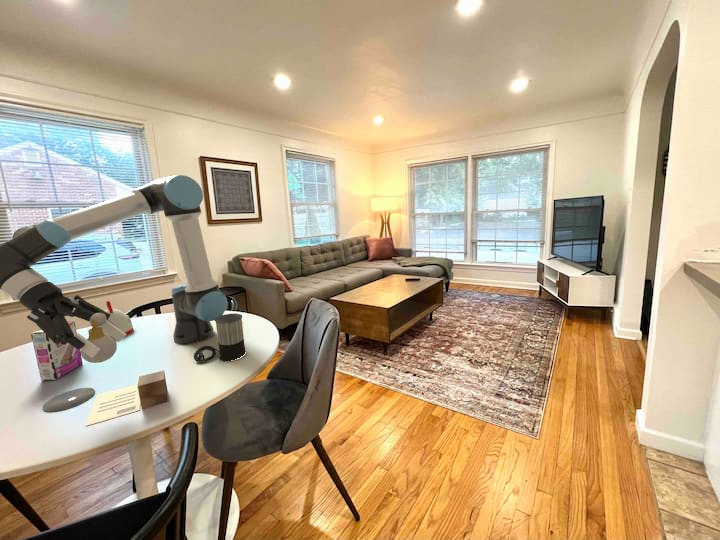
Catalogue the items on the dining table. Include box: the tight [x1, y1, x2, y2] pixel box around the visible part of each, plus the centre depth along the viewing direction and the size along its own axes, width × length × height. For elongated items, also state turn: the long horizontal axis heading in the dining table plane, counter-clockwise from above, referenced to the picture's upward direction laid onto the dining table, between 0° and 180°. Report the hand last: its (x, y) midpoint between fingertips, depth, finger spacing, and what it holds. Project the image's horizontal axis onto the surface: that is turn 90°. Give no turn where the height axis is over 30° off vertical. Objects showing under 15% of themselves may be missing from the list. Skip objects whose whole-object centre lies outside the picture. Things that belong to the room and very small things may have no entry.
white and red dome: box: [97, 300, 134, 340], centre depth 138 cm, size 14×14×15 cm
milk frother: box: [193, 312, 247, 363], centre depth 111 cm, size 14×16×15 cm
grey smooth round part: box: [42, 387, 96, 413], centre depth 89 cm, size 11×11×1 cm
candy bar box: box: [30, 320, 83, 382], centre depth 104 cm, size 11×5×16 cm, turn 5°
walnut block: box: [137, 370, 169, 411], centre depth 87 cm, size 6×6×7 cm
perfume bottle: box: [80, 313, 118, 364], centre depth 83 cm, size 8×10×12 cm
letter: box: [85, 384, 141, 427], centre depth 87 cm, size 11×16×1 cm
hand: (110, 345), depth 84 cm, fingers closed on perfume bottle, 9 cm apart
